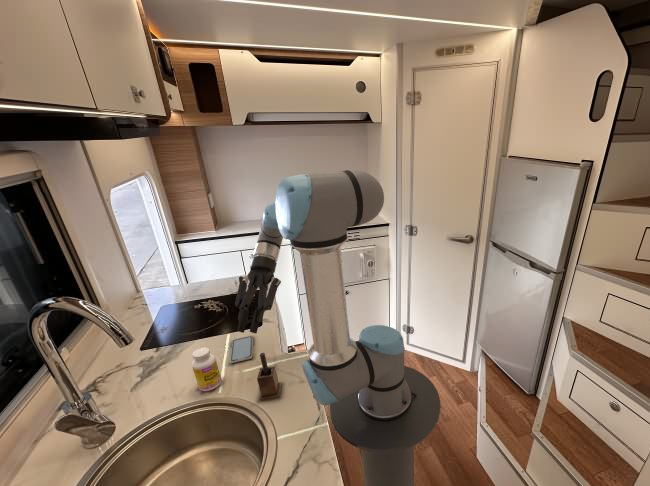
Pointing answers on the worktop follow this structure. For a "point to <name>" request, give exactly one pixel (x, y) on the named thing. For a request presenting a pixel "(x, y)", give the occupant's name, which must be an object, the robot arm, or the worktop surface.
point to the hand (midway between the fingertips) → (246, 331)
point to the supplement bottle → (205, 369)
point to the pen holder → (268, 384)
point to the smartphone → (241, 349)
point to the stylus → (264, 364)
